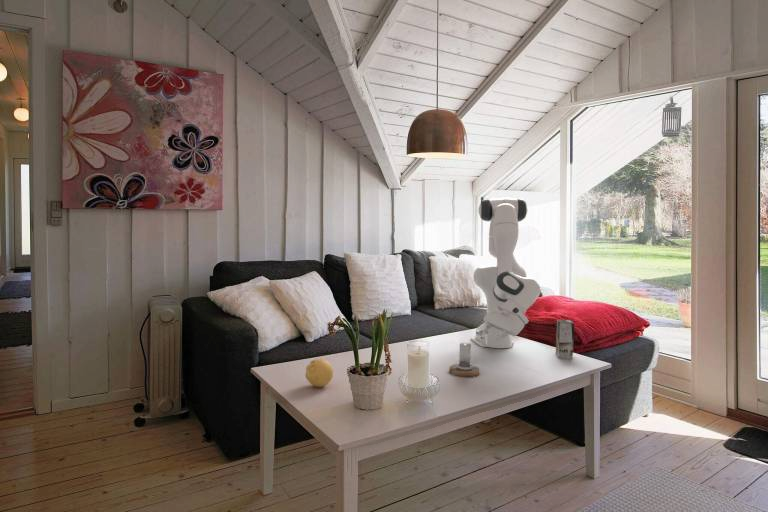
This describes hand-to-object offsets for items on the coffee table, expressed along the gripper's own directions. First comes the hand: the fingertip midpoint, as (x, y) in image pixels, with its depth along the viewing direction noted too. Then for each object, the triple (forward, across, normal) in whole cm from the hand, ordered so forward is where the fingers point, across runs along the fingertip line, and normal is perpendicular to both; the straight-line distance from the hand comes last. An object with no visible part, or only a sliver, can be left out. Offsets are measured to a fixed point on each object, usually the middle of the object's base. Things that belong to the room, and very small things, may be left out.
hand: (490, 336), depth 209 cm
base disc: (+18, +2, 0) cm, 19 cm away
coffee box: (-20, -4, +40) cm, 46 cm away
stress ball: (+60, -2, -42) cm, 73 cm away
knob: (+17, +2, -1) cm, 18 cm away
